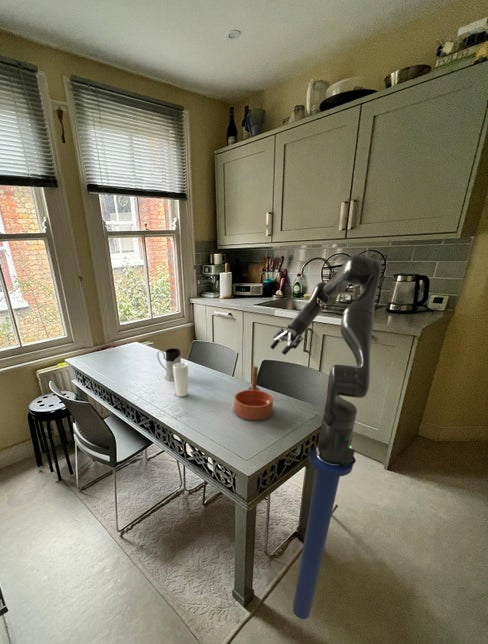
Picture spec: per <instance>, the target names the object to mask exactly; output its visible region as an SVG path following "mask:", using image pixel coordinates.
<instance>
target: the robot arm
mask: <svg viewBox="0 0 488 644" xmlns="http://www.w3.org/2000/svg"><path fill="white" fill-rule="evenodd" d="M381 271H382V264H381V262H380V260H378V259H375V258H372V257H369V256H364V255H361V254H354V255H351V256H350V257H349V258H347V259H346V260H345V262H344V263H343V264H342V265H341V267H340V268H339V270H338V271H337V272H336V274H335V275H334V276H333V277H332V278H331V279H329V280H328V281H327V282H325V281H321V282H318V283H317V284H316V285H315V286H314V288H313V291H312V293H311V295H310V297H309V299H308V300H307V302H306V304H305V305H304V306H303V307H302V308H301V309H300V311H298V313H296V314H295V316H294V317H293V318H292V319H291V320H290V322H289V323H288V324H287V328H286V329H284V328H283V327H281V328H279V330H277V332H276V333H275V334H274V336H272V338H273V339H274V340H273V341H272V342H271V344H270V345H269V348H270V349H271V350H275V348H277V346H278V345H279V344H280V343H282V342H287V345H285V347H284V348H283V349H282V350H281V354H282V355H284V356H286V355H287V354H288V353H289V352H290V350H292V349H294V350H296V349H297V348H298V347H299V345H300V344H301V342H302V341H303V340H304V337H303V336H302V335H303V334H304V333H305V332H306V331H307V329H308V328H309V327H310V326H311V324H312V323H313V322H314V320H315V319H316V318H317V316H318V315H319V314H320V313H321V311H322V307H321V304H320V303H319V302H318V300H319V301H320V302H321V303H322V304H323V305H326V306H330V305H332V304H334V303H335V302H336V300H337V298H338V297H339V295H341V294H343V293H344V292H345V291H346V290H347V288H348V285H349V284H351V285H354V286H355V285H356V286H358V287H361V289H362V290H361V293H360V294H359V296H357V297H356V298H355V299H354V300H353V301H352V302H351V303H349V305H347V306H346V307H345V309H344V310H343V312H342V315H341V321H340V328H339V329H340V335H341V337H342V339H343V341H344V343H346V345H347V347H348V348H349V350H350V351H351V352H352V355H353V357H354V359H355V363H356V365H345V364H334V365H332V366H331V368H330V369H329V370H330V371H329V375H328V381H327V389H326V390H327V392H326V398H325V405H324V408H323V415H322V421H321V427H320V432H319V438H318V444H317V446H318V448H316V450H317V453H316V456H317V458H318V459H319V460H320V461H321V462H323V463H325V464H327V465H330V466H340V467H344V465H345V463H346V462H347V463H349V464H350V465H352V464H353V465H355V463H356V461H357V459H356V458H355V452H356V450H355V449H353V448H352V442H353V437H354V435H353V432H354V427H355V423H356V418H357V414H358V409H357V407H356V405H355V404H354V403H352V402H350V401H348V400H346V399H344V398H343V397H348V398H356V399H363V398H365V397H366V396H367V394H368V392H369V389H370V379H371V348H372V347H371V346H372V337H373V330H374V323H375V322H374V321H375V307H376V298H377V292H378V288H379V287H378V286H379V282H380V277H381ZM352 459H353V462H351V461H352Z"/></svg>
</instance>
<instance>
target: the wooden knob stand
mask: <svg viewBox="0 0 488 644" xmlns="http://www.w3.org/2000/svg"><path fill="white" fill-rule="evenodd" d="M258 371H259V367H258V366H257V365H254V366H252V375H251V376H252V377H251V386H250V387H248V388H247V390H260V391H261V389H260V388H259V387H257V386H258Z"/></svg>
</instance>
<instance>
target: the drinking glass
mask: <svg viewBox="0 0 488 644" xmlns="http://www.w3.org/2000/svg"><path fill="white" fill-rule="evenodd" d="M173 374H174V381H173V382H174V386H175V395H176V397H185V396H187V395H188V382H189V381H188V380H189V365H188V364H187V363H186V362H181V363H176V364H174V365H173Z"/></svg>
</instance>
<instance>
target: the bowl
mask: <svg viewBox="0 0 488 644" xmlns="http://www.w3.org/2000/svg"><path fill="white" fill-rule="evenodd" d="M273 405H274V398H273V396H272V395H271V394H270V393H268V392H266V391H263V390H261V389H260V390H248V389H245V390H240V391H238V392H237V393H235V395H234V399H233V409H234V411H233V412H234V413H235V414H236V415H237V416H238V417H240V418H242V419H245V420H250V421H261V420H265V419H268V418H269V417H270V416H271V415H272V414H273V407H274V406H273Z"/></svg>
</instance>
